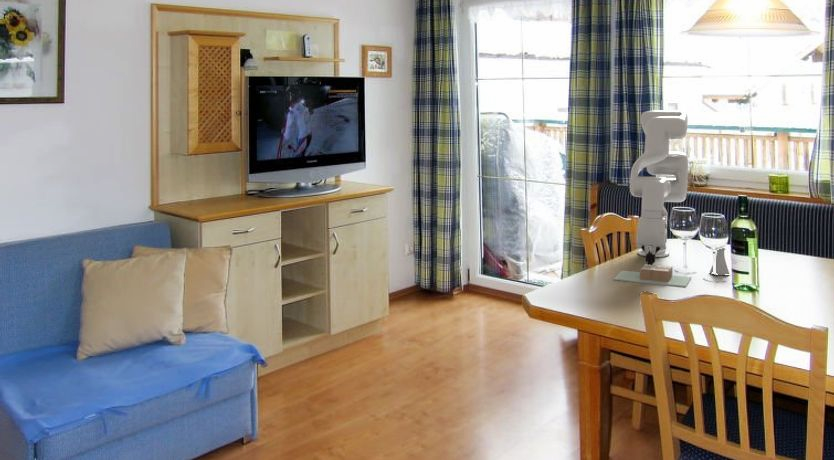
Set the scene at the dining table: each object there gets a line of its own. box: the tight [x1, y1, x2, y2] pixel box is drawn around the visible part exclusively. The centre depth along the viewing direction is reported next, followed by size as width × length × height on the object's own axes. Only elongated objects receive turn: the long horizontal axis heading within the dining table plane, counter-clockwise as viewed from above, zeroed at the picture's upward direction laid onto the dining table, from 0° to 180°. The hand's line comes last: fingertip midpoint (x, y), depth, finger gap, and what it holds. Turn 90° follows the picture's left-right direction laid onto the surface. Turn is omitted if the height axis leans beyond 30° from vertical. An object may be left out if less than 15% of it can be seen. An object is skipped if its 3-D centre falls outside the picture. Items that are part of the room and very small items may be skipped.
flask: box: [709, 247, 730, 275], centre depth 282 cm, size 7×7×10 cm
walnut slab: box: [639, 263, 673, 282], centre depth 276 cm, size 8×4×10 cm
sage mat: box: [613, 270, 692, 288], centre depth 277 cm, size 13×25×1 cm, turn 63°
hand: (650, 264), depth 277 cm, fingers closed
